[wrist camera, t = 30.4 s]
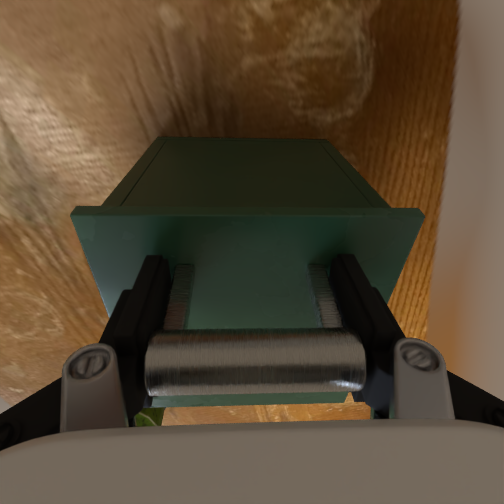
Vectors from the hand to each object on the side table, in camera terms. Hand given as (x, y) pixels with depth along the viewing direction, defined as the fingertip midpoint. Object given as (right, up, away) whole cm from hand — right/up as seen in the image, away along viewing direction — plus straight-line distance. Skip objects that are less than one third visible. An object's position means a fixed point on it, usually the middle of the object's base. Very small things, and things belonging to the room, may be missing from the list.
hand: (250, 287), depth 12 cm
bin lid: (0, -2, +3) cm, 4 cm away
